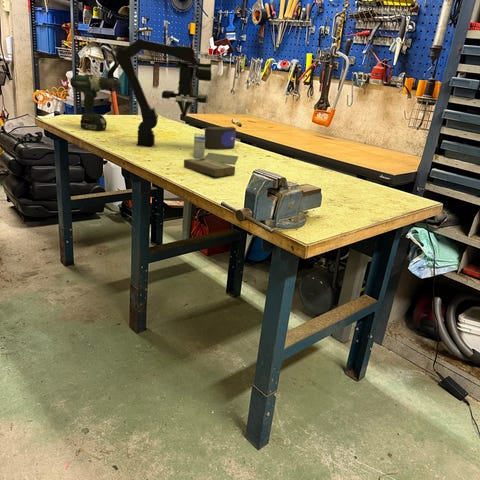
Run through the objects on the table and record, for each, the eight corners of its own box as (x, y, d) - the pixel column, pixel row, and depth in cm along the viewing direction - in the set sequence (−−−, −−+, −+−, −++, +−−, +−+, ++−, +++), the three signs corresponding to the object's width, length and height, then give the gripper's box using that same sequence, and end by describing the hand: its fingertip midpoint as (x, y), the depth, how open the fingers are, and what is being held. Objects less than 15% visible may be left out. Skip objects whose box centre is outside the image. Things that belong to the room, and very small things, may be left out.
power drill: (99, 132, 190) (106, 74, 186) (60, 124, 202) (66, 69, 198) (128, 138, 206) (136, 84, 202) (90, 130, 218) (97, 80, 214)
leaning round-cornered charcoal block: (208, 150, 190) (209, 128, 186) (202, 147, 194) (204, 126, 190) (238, 149, 199) (240, 128, 195) (232, 146, 202) (234, 126, 199)
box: (214, 178, 149) (214, 169, 148) (182, 167, 160) (183, 158, 159) (235, 175, 157) (236, 166, 156) (204, 165, 167) (204, 157, 166)
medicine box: (193, 153, 182) (194, 132, 178) (203, 154, 182) (205, 133, 179) (192, 157, 174) (194, 136, 171) (203, 158, 175) (205, 137, 171)
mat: (202, 160, 172) (202, 159, 172) (208, 153, 184) (208, 152, 184) (234, 164, 171) (234, 163, 171) (238, 157, 184) (238, 156, 184)
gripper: (211, 80, 185) (208, 117, 191) (168, 75, 186) (167, 112, 192) (206, 82, 175) (204, 121, 181) (162, 76, 176) (161, 116, 182)
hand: (184, 117), depth 184 cm, fingers closed
